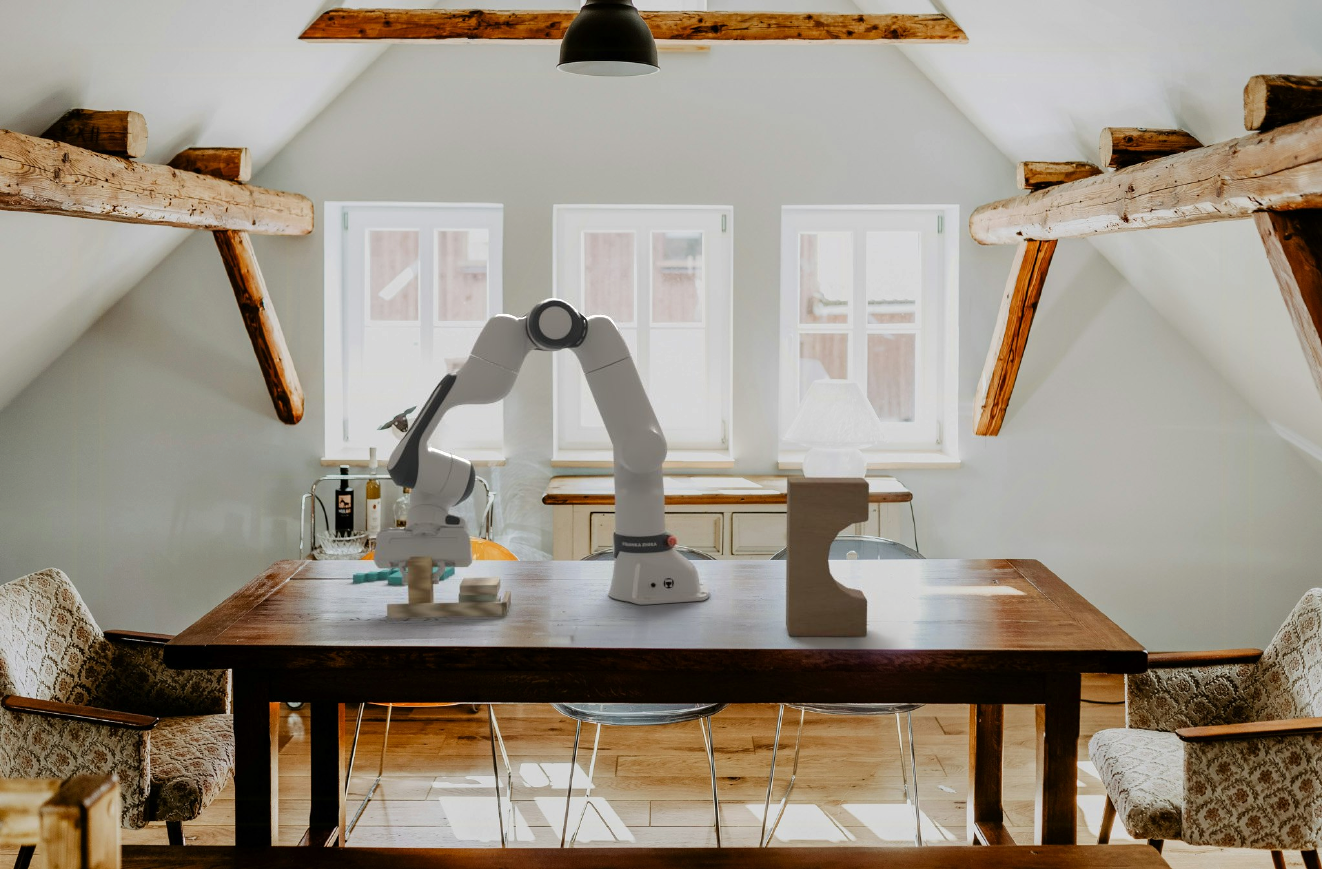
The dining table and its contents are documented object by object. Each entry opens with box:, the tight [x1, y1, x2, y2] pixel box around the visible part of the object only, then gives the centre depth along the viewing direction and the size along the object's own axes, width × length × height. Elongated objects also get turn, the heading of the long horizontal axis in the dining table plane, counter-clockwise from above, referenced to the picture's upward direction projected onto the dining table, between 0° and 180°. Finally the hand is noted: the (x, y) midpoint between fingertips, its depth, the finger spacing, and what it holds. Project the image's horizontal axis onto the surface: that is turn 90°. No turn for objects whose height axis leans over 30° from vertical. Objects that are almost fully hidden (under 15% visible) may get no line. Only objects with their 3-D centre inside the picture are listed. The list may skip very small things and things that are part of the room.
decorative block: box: [785, 476, 870, 638], centre depth 203 cm, size 15×8×30 cm, turn 87°
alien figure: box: [352, 567, 456, 586], centre depth 254 cm, size 20×2×20 cm
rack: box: [386, 590, 512, 619], centre depth 216 cm, size 24×10×4 cm, turn 93°
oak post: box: [407, 556, 435, 603], centre depth 216 cm, size 4×4×11 cm
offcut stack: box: [458, 576, 502, 603], centre depth 217 cm, size 8×7×6 cm
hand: (420, 583), depth 215 cm, fingers closed on oak post, 4 cm apart
